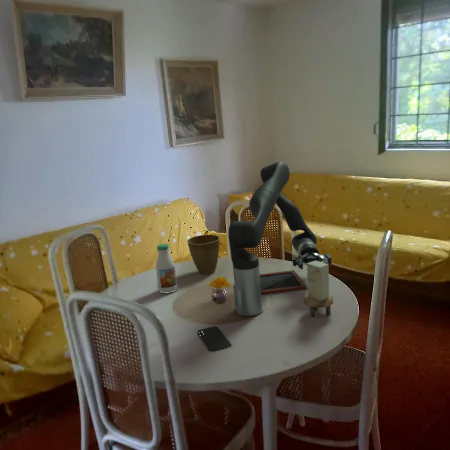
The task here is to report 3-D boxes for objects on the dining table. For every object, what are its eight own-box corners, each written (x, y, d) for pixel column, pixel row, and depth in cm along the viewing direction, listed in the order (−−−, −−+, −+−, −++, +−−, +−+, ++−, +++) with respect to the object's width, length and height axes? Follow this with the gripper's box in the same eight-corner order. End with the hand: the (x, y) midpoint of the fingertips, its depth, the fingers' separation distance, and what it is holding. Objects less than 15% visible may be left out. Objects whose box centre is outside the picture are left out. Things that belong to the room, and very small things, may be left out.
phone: (209, 351, 134) (196, 330, 148) (209, 353, 135) (196, 332, 148) (232, 345, 137) (217, 325, 151) (232, 347, 137) (217, 327, 151)
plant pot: (194, 267, 214) (190, 235, 210) (224, 266, 211) (222, 233, 207) (187, 278, 199) (183, 244, 195) (220, 277, 197) (217, 242, 193)
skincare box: (307, 296, 154) (305, 263, 151) (316, 292, 156) (315, 260, 154) (321, 301, 149) (319, 267, 146) (330, 297, 151) (329, 263, 149)
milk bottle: (155, 293, 185) (149, 247, 180) (164, 286, 192) (159, 242, 187) (171, 295, 182) (166, 248, 177) (180, 287, 189) (175, 242, 184)
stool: (310, 321, 148) (310, 305, 147) (299, 310, 158) (299, 294, 156) (338, 317, 150) (338, 300, 149) (326, 305, 160) (325, 289, 158)
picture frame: (245, 298, 174) (307, 290, 176) (244, 293, 173) (307, 285, 175) (238, 280, 193) (294, 273, 195) (237, 276, 193) (294, 269, 195)
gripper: (289, 244, 175) (293, 257, 160) (326, 242, 174) (333, 255, 158) (290, 262, 177) (294, 277, 161) (327, 260, 176) (334, 274, 160)
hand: (313, 266), depth 160 cm, fingers open, 8 cm apart
